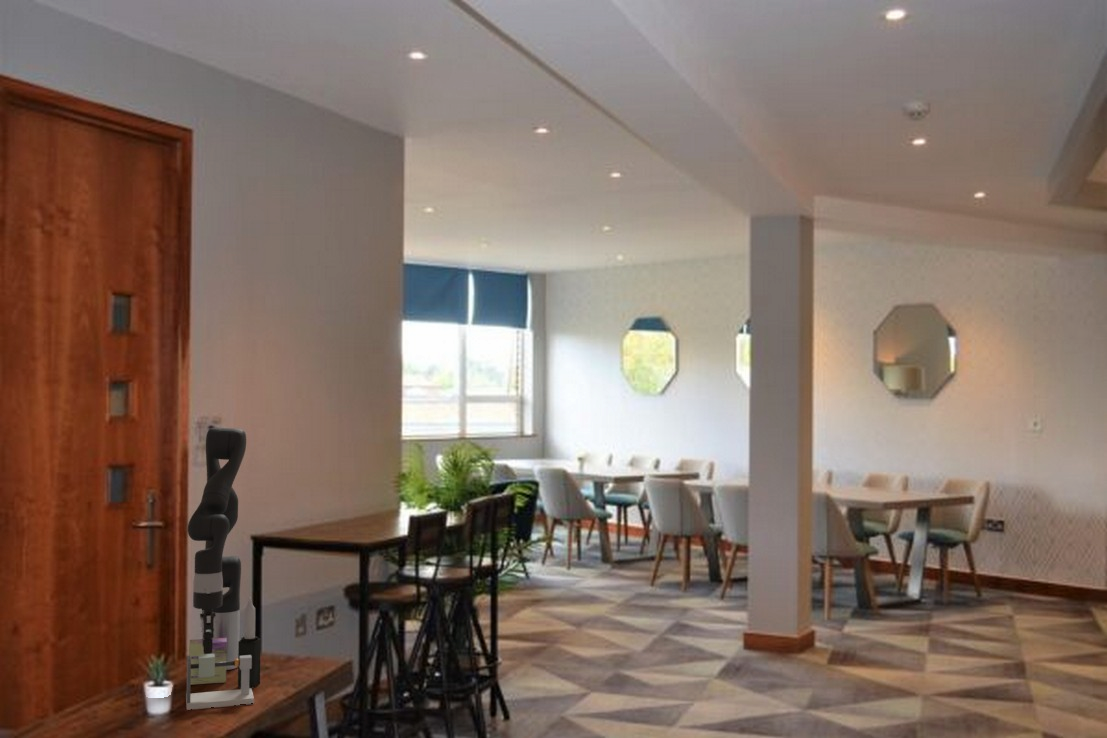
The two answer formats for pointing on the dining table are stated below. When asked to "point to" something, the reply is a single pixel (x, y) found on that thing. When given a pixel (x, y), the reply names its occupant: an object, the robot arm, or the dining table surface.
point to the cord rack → (222, 697)
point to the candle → (250, 646)
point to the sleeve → (206, 665)
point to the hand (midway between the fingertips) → (207, 650)
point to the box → (220, 656)
